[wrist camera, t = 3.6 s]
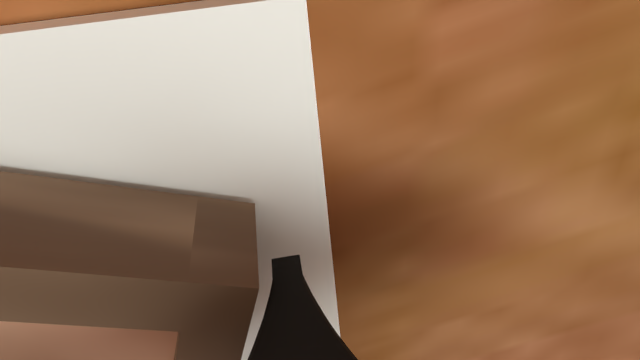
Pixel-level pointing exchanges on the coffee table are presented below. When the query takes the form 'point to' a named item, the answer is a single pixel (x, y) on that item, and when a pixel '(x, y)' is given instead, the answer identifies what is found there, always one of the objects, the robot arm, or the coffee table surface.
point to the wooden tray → (123, 272)
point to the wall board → (180, 116)
